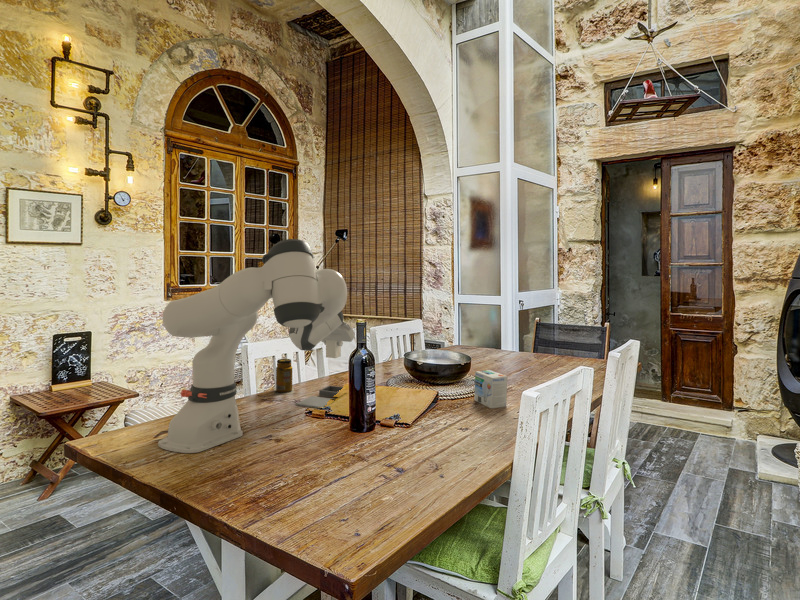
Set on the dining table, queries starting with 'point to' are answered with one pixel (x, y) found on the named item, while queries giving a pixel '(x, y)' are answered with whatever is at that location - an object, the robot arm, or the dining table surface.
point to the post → (332, 349)
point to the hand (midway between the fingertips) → (334, 344)
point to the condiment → (284, 377)
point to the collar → (329, 391)
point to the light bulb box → (490, 388)
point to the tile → (314, 402)
